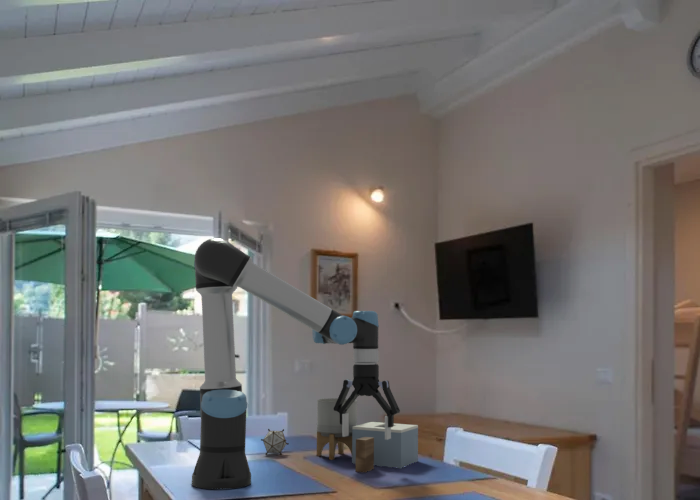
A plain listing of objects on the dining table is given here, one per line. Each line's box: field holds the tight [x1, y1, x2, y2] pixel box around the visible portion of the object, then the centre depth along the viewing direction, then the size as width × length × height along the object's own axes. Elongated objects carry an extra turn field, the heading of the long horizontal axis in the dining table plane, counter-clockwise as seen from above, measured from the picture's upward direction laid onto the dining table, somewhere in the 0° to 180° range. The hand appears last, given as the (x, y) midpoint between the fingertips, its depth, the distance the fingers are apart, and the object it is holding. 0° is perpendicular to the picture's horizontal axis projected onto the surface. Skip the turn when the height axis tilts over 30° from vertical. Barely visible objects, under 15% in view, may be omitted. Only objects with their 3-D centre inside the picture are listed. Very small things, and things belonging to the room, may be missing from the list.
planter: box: [316, 397, 358, 461], centre depth 228 cm, size 13×13×18 cm
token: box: [355, 437, 375, 473], centre depth 204 cm, size 3×6×9 cm, turn 154°
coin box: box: [351, 421, 419, 469], centre depth 218 cm, size 14×16×11 cm
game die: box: [260, 428, 289, 456], centre depth 230 cm, size 9×8×10 cm
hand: (366, 437), depth 205 cm, fingers open, 13 cm apart
